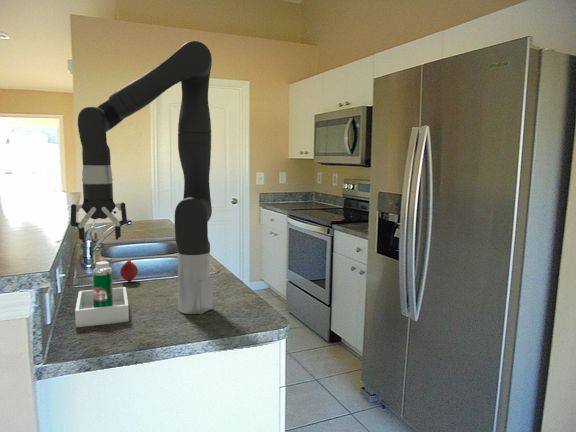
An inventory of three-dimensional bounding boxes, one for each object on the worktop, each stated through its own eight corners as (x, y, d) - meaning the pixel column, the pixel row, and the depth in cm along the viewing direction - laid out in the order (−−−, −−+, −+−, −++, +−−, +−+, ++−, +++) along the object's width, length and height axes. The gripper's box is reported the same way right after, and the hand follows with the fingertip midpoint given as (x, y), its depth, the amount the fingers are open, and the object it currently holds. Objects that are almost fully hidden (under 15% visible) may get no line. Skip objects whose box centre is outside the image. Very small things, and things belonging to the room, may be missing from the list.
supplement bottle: (108, 289, 149) (107, 259, 148) (115, 293, 145) (114, 262, 144) (91, 293, 145) (90, 262, 144) (98, 297, 141) (96, 265, 140)
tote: (126, 301, 138) (125, 287, 137) (128, 321, 121) (128, 305, 120) (79, 305, 133) (79, 291, 132) (75, 327, 116) (75, 310, 116)
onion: (132, 284, 155) (131, 262, 154) (117, 283, 156) (116, 261, 155) (140, 280, 161) (140, 258, 160) (126, 279, 162) (125, 257, 161)
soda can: (90, 313, 125) (88, 271, 123) (100, 307, 130) (99, 267, 128) (106, 314, 124) (105, 272, 123) (116, 308, 129) (115, 268, 127)
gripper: (124, 181, 128) (126, 236, 130) (69, 181, 123) (72, 239, 125) (125, 182, 121) (128, 241, 123) (67, 183, 116) (71, 244, 118)
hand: (100, 240), depth 124 cm, fingers open, 8 cm apart
